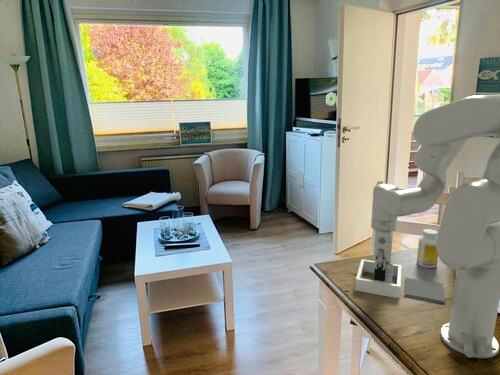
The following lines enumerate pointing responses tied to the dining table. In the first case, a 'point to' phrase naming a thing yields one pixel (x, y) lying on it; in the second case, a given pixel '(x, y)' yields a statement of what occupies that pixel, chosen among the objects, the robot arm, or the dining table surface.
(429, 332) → the dining table surface
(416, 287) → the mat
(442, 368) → the dining table surface
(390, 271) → the medicine box
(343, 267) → the dining table surface
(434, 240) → the supplement bottle
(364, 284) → the bin
